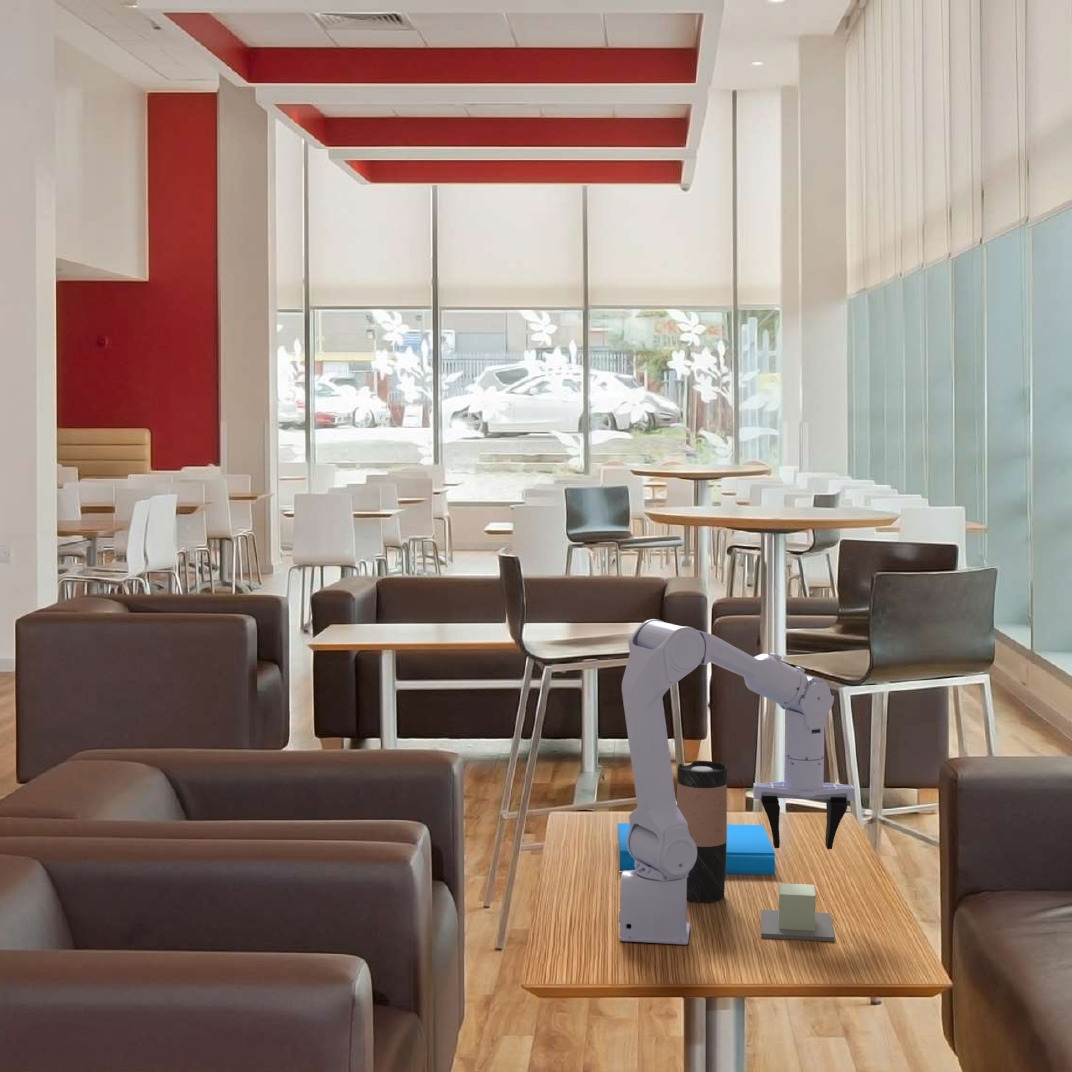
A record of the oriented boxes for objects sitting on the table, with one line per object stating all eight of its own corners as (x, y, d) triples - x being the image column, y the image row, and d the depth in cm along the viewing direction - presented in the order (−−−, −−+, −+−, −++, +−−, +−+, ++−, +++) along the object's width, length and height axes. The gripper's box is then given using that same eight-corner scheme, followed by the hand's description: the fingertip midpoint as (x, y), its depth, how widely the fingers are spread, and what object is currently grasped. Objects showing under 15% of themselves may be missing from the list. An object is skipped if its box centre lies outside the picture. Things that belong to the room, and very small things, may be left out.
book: (615, 823, 245) (762, 822, 245) (616, 847, 246) (762, 847, 245) (619, 852, 228) (776, 851, 228) (619, 878, 229) (776, 877, 228)
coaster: (761, 937, 200) (761, 933, 200) (760, 913, 210) (760, 909, 210) (834, 941, 198) (834, 937, 198) (830, 917, 208) (830, 913, 208)
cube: (778, 928, 202) (779, 894, 201) (778, 916, 206) (778, 883, 206) (815, 930, 201) (815, 895, 200) (813, 918, 206) (814, 884, 205)
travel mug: (724, 905, 213) (725, 773, 212) (673, 901, 215) (674, 770, 213) (727, 889, 221) (729, 761, 219) (678, 885, 222) (679, 759, 221)
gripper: (756, 761, 206) (755, 853, 207) (858, 763, 206) (856, 855, 207) (752, 750, 213) (751, 839, 214) (850, 752, 213) (848, 841, 214)
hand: (802, 846), depth 211 cm, fingers open, 7 cm apart
